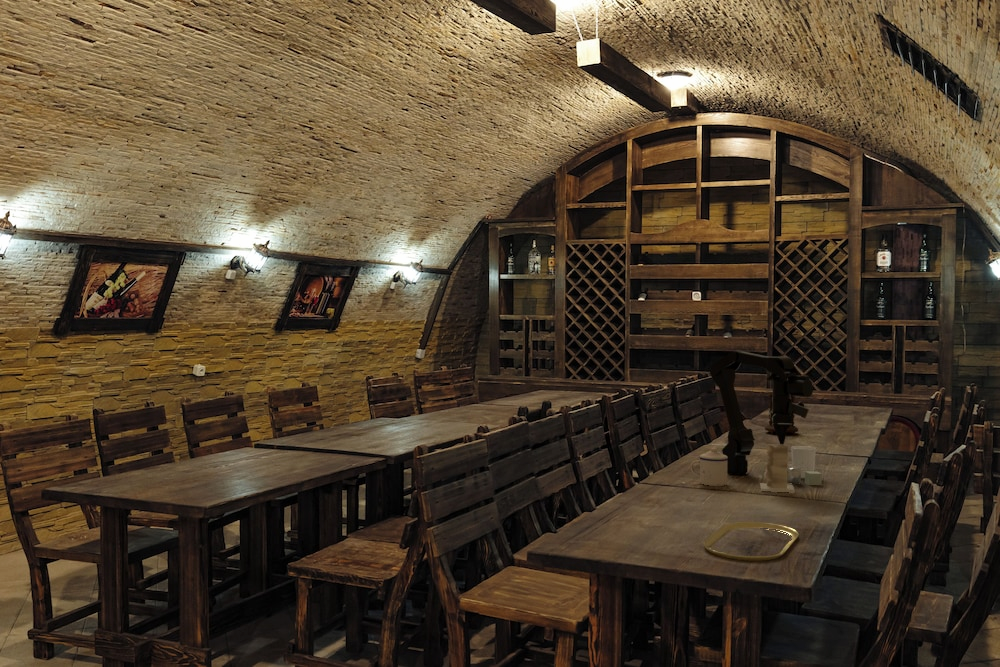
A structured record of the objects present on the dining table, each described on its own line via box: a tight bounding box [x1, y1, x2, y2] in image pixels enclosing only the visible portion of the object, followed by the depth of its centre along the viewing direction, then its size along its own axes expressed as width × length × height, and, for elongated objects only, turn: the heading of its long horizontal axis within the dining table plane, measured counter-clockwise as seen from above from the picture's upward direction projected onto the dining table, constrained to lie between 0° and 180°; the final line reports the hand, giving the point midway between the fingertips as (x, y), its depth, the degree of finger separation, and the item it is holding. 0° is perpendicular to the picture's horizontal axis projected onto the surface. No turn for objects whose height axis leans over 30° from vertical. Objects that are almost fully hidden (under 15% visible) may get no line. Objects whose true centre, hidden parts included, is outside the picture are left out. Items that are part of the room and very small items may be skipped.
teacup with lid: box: [690, 447, 728, 487], centre depth 297 cm, size 12×9×12 cm
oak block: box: [766, 443, 789, 488], centre depth 288 cm, size 4×4×13 cm
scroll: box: [764, 393, 799, 436], centre depth 416 cm, size 15×15×20 cm
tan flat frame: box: [703, 521, 800, 562], centre depth 223 cm, size 19×35×2 cm, turn 152°
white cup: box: [790, 445, 817, 479], centre depth 310 cm, size 8×8×10 cm
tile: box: [759, 482, 796, 494], centre depth 288 cm, size 10×9×1 cm
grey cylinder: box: [787, 466, 802, 485], centre depth 299 cm, size 4×4×5 cm
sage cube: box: [804, 470, 823, 486], centre depth 297 cm, size 4×4×4 cm
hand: (781, 442), depth 300 cm, fingers open, 9 cm apart
